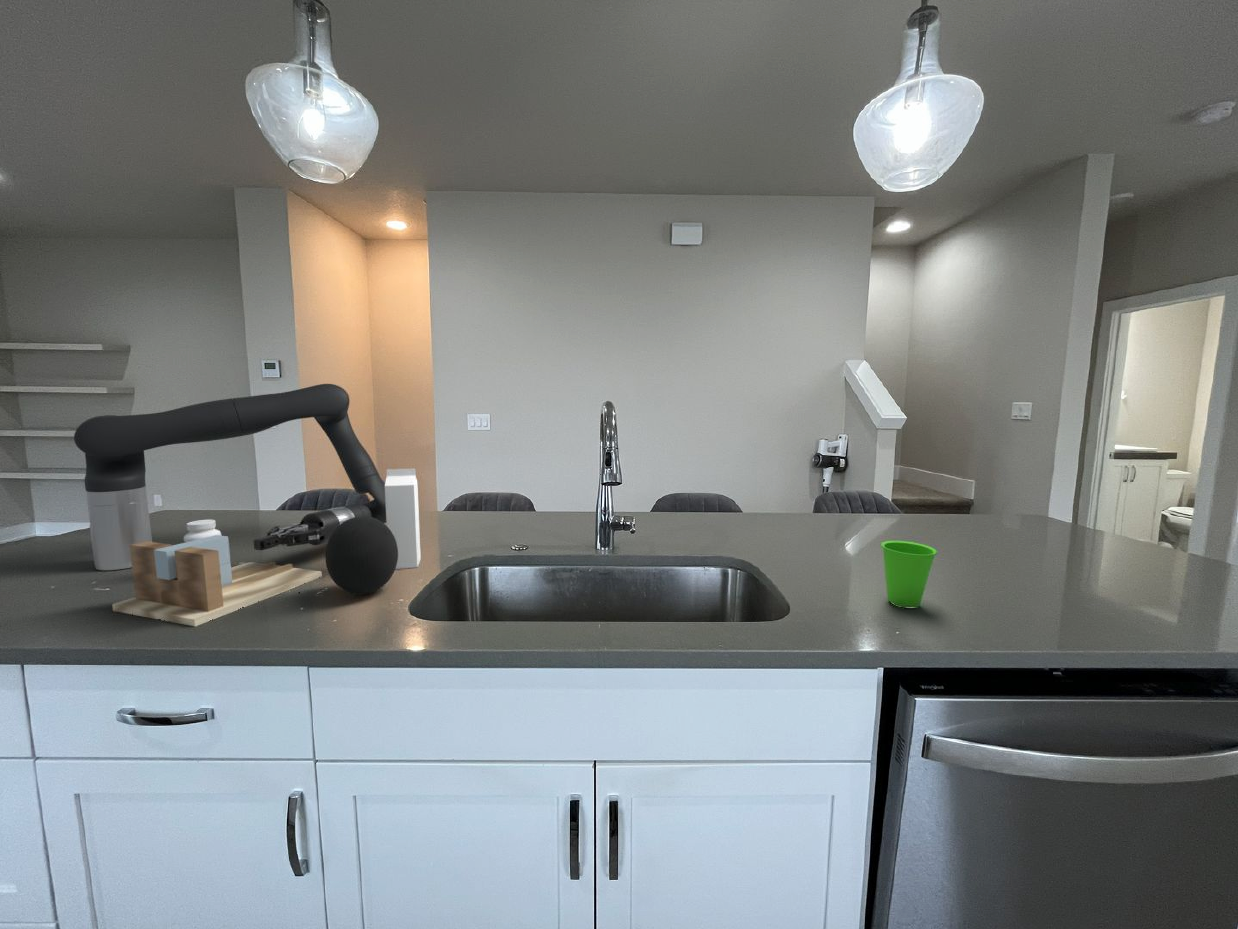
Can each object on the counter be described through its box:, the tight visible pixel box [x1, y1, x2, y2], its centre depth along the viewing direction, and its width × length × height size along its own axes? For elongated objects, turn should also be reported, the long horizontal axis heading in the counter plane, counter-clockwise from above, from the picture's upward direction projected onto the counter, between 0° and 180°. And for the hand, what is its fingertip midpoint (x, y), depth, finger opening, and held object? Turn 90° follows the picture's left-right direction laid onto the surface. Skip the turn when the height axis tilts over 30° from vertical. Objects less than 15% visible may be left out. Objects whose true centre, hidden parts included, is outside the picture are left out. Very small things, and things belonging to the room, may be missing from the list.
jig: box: [111, 541, 323, 627], centre depth 93 cm, size 20×24×11 cm
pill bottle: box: [183, 519, 222, 543], centre depth 104 cm, size 6×6×11 cm
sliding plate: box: [154, 535, 232, 586], centre depth 88 cm, size 3×10×10 cm, turn 164°
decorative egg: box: [324, 516, 398, 595], centre depth 93 cm, size 12×12×15 cm
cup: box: [880, 540, 938, 608], centre depth 91 cm, size 9×9×11 cm
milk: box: [384, 468, 422, 570], centre depth 109 cm, size 6×6×22 cm
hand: (256, 545), depth 98 cm, fingers closed
